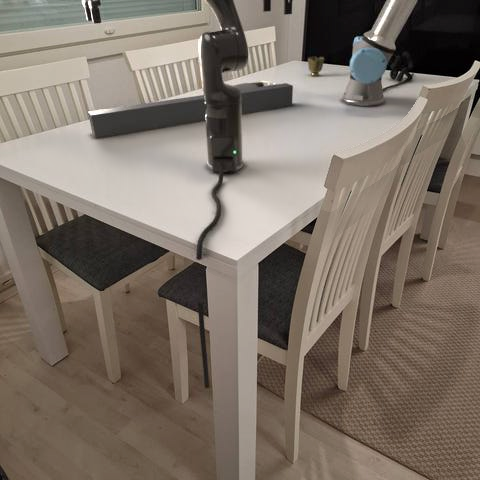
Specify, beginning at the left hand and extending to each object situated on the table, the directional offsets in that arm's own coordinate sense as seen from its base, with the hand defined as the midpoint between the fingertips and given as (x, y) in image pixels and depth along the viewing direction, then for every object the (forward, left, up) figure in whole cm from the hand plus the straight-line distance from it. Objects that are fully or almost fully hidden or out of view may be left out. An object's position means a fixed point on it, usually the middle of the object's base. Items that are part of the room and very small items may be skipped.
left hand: (94, 21), depth 128 cm
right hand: (+30, -53, -1) cm, 61 cm away
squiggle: (+72, -110, -33) cm, 135 cm away
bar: (+15, -27, -33) cm, 45 cm away
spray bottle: (+53, -44, -33) cm, 76 cm away
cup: (+82, -73, -33) cm, 115 cm away
